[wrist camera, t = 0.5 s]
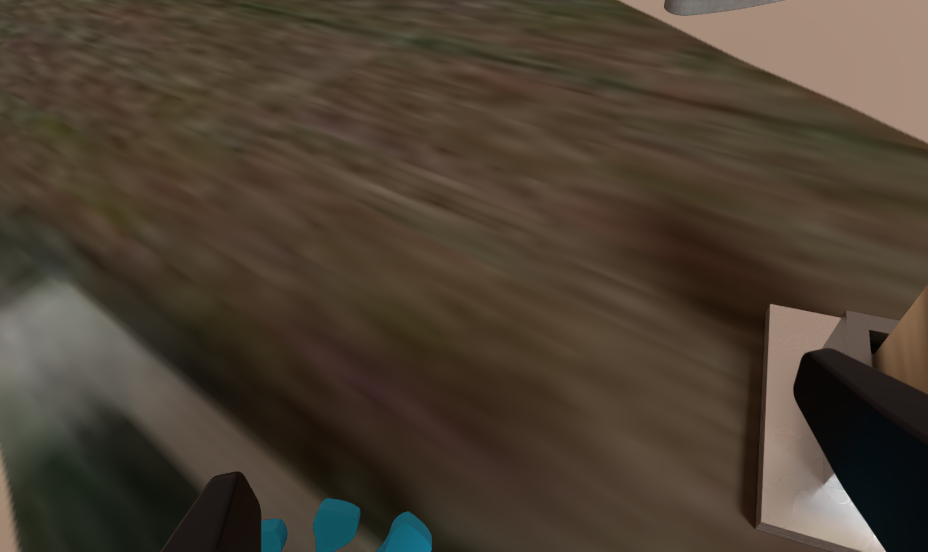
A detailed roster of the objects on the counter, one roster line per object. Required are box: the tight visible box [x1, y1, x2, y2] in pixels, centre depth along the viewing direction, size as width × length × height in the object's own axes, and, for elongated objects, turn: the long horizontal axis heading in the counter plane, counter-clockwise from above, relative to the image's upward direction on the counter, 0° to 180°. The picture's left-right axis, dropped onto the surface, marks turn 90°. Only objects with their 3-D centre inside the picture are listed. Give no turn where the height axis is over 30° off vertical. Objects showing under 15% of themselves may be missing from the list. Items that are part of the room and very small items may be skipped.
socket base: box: [755, 304, 900, 552], centre depth 24 cm, size 11×11×4 cm
